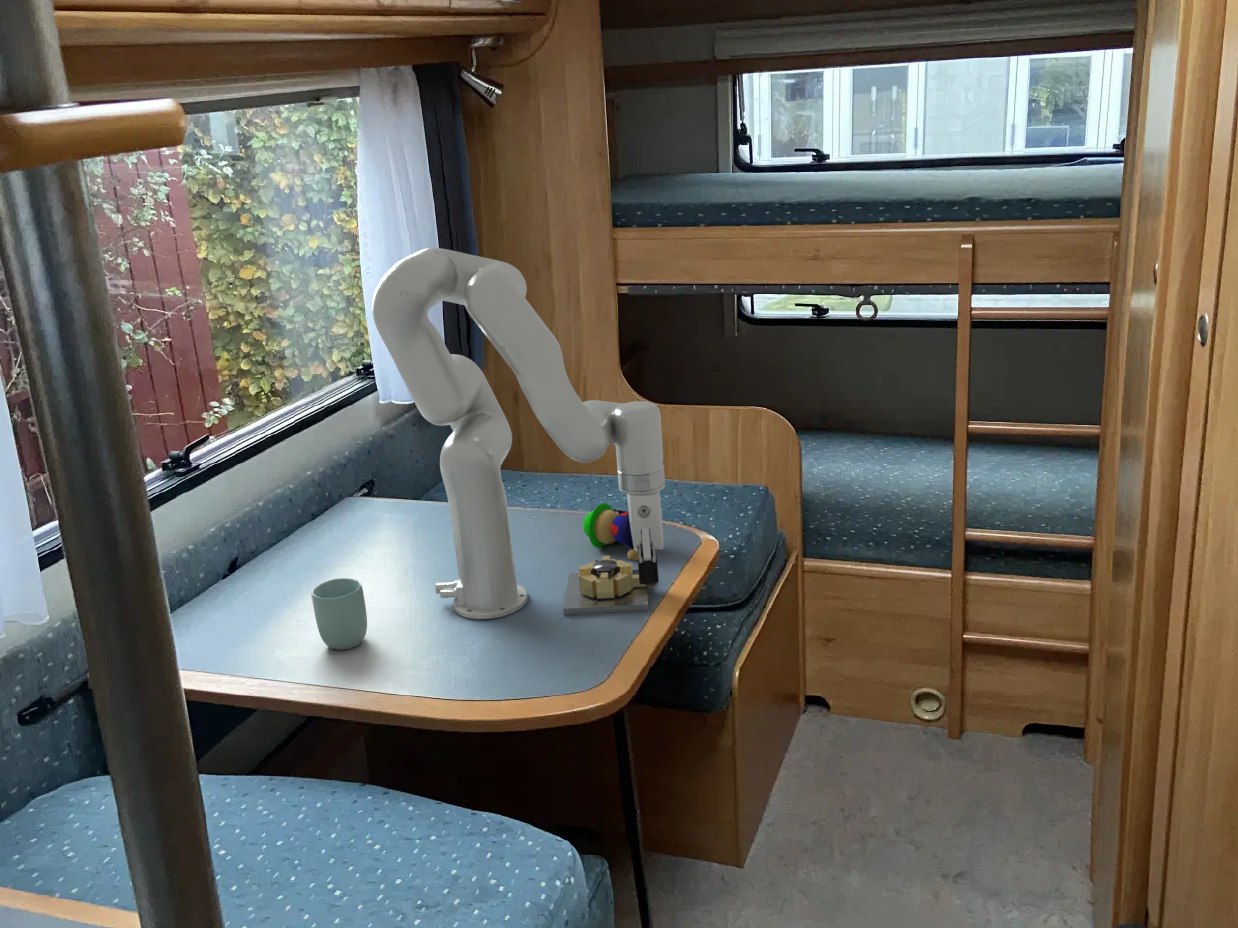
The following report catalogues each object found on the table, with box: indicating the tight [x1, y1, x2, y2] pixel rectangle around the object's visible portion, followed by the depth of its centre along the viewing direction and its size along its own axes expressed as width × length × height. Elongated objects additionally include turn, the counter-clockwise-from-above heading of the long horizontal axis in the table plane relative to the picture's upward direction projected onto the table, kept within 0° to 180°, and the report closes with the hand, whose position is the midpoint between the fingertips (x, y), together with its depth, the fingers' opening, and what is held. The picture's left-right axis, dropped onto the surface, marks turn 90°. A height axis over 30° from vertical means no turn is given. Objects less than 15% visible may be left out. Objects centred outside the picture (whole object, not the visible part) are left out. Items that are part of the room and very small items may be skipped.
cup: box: [310, 577, 368, 651], centre depth 180 cm, size 8×8×10 cm
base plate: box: [562, 559, 650, 616], centre depth 191 cm, size 14×15×6 cm
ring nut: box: [578, 555, 658, 599], centre depth 190 cm, size 13×9×5 cm
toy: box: [582, 502, 639, 561], centre depth 209 cm, size 12×9×15 cm
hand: (649, 581), depth 187 cm, fingers closed
